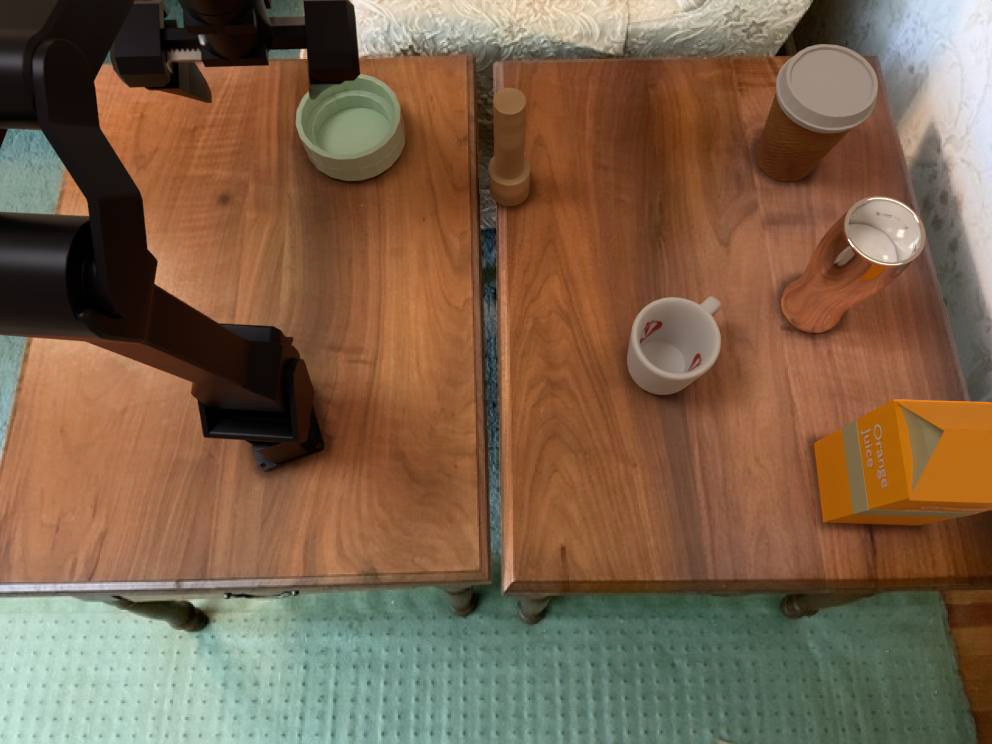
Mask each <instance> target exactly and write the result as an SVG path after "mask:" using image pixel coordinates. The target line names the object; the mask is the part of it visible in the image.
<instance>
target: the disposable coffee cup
mask: <svg viewBox="0 0 992 744" xmlns="http://www.w3.org/2000/svg"><path fill="white" fill-rule="evenodd" d="M878 91H879V80H878V77H877V73H876V71H875V69H874V68H873V67H872V65H871V64H870V63H869V62H868V60H867V59H866V58H864V56H862V55H861V54H859V53H858V52H857V51H855V50H853V49H851V48H848V47H846V46H841V45H838V44H827V43H826V44H825V43H821V44H814V45H811V46H807V47H805V48H803V49H801V50H799V51H798V52H796V54H795V55H793V56H792V57H790V58H788V60H787V61H786V62H784V63H783V64H782V66H781V67H780V69H779V70H778V73H777V76H776V81H775V93H774V96H773V100H772V102H771V106H770V108H769V111H768V115H767V119H766V120H765V124H764V127H763V130H762V133H761V135H760V139H759V141H758V144H757V147H756V150H755V159H756V163H757V165H758V167H759V168H760V170H761V171H762V172H763V173H764V174H765V175H767V176H768V177H770V178H772V179H775V180H776V181H780V182H789V183H790V182H796V181H800V180H802V179H803V178H805V177H807V176H808V175H809V174H810V172H812V171H813V170H814V169H815V167H816V166H818V164H819V163H820V162H821V161H822V160H823V159H824V158H825V157H826V156H827V155H828V154H829V153H831V152H832V150H833V149H834V148H835V147H836V146H837V145H838V143H840V141H841V140H843V138H844V137H845V136H846V135H847V134H848V133H849V132H850V131H851V130H852V129H853V128H854V127H857V126H859V125H860V124H862V123H864V122H865V120H867V119H868V118H869V117H870V115H871V114H872V113H873V111H874V109H875V106H877V105H876V104H877V98H878V97H877V96H878Z"/></svg>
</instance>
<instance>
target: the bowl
mask: <svg viewBox="0 0 992 744" xmlns="http://www.w3.org/2000/svg"><path fill="white" fill-rule="evenodd" d="M295 113H296V114H295V127H296V130H297V133H298V136H299V138H300V141H301V143H302V145H303V148H304V150H305V153H306V155H307V157H308V159H309V161H310V162H311V163H312V164H313V165H314V166H315V168H316V169H317V170H318V171H319V172H321V173H323V174H324V175H326V176H328V177H329V178H332V179H336V180H340V181H345V182H356V181H357V182H359V181H360V182H361V181H365V180H368V179H371V178H374V177H377V176H379V175H380V174H382V173H384V172H385V171H386V170H388V169H390V168H391V167H392V166H393V165H394V163H395V162H396V161H397V160H398V159H399V157H401V154H402V152H403V149H404V147H405V144H406V127H405V123H404V118H403V113H402V109H401V104H400V102H399V99H398V97H397V95H396V92H394V91H393V90H392V88H391V87H390V86H389V85H388V84H387V83H385V82H384V81H382V80H380V79H378V78H377V77H374V76H372V75H369V74H363V73H360V75H359V76H358V77H357V78H356V79H355V80H354V81H344V82H343V83H342V84H340V85H333V86H331V87H329V88H328V89H326V90H324V91H323V92H322V93H321V94H320V95H319V96H318V97H317V98H316V99H315V100H311V99H310V97H309V90H307V92H306V93H305V94H304V95H303V96H302V97H301V100H300V102H299V105H298V106H297V109H296V112H295Z"/></svg>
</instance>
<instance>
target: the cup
mask: <svg viewBox="0 0 992 744" xmlns="http://www.w3.org/2000/svg"><path fill="white" fill-rule="evenodd" d="M721 308H722V301H720V300H719V298H716V297H715V296H713V295H711V296H708V297H707V298H706V299H704V300H703V301H702V302H701V303H698V302H696V301H693V300H691V299H687V298H684V297H677V296H669V297H663V298H659V299H656V300H654V301H652V302H650V303H648V304H646V305H645V307H643V308H642V309H641V310H640V311H639V312H638V314H637V315H636V317H635V318H634V321H633V323H632V326H631V330H630V335H629V336H630V337H629V341H628V342H629V343H628V347H627V353H626V354H627V355H626V365H627V369H628V373H629V375H630V377H631V379H632V380H633V381H634V383H635V384H636V385H637V387H639V388H641V389H642V390H643V391H646V392H648V393H649V394H653V395H657V396H668V395H672V394H675V393H678V392H680V391H682V390H684V389H685V388H687V387H688V386H690V385H691V384H692V383H694V382H695V381H696V380H698V379H699V378H700V377H701V376H703V375H704V374H706V373H707V372H708V371H709V370H711V368H712V367H713V366H714V364H715V363H716V362H717V360H718V357H719V355H720V352H721V348H722V347H721V346H722V336H721V332H720V328H719V326H718V323H717V321H716V319H715V318H714V317H715V316H716V314H718V312H719V311H720V309H721Z"/></svg>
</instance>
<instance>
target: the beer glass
mask: <svg viewBox="0 0 992 744" xmlns="http://www.w3.org/2000/svg"><path fill="white" fill-rule="evenodd" d="M926 235H927V234H926V228H925V226H924V223H923V221H922V219H921V218H920V217H919V215H918V214H917V213H916V212H915V210H913V208H912V207H910V206H909V205H908V204H906V203H904V202H902V201H900V200H898V199H896V198H893V197H889V196H883V195H882V196H881V195H880V196H879V195H875V196H868V197H865V198H861V199H860V200H858V201H856V202H854V204H853V205H852V206H850V208H849V209H848V210H846V212H845V213H844V214H842V215H841V217H839V219H838V220H837V221H835V222H834V223H833V225H832V226H831V227H829V229H828V230H827V231H826V232H825V234H824V235H823V236H822V238H821V239H820V240H819V242H818V243H817V245H816V247H815V249H814V251H813V252H812V254H811V257H810V259H809V261H808V263H807V266H806V268H805V270H804V272H803V274H802V275H801V276H800V277H798V278H797V279H796V280H794V281H792V282H790V283H789V284H788V285H787V286H786V287H785V289H784V290H783V291H782V294H781V299H780V308H781V311H782V313H783V316H784V317H785V319H786V320H787V321H788V322H789V323H790V325H792V326H793V327H794V328H796V329H798V330H800V331H803V332H805V333H810V334H820V333H825V332H827V331H829V330H831V329H833V328H834V327H835V326H836V325H837V324H838V323H839V321H840V320H841V318H842V316H843V314H844V313H845V312H846V311H847V310H848V309H849V308H852V307H854V306H856V305H857V304H860V303H862V302H864V301H866V300H867V299H869V298H872V297H874V296H875V295H876V294H878V293H880V292H881V291H883V290H884V289H885V288H886V287H888V286H889V285H891V283H893V282H894V281H895V280H896V279H897V278H898V277H899V276H900V275H902V274H903V272H904V271H905V270H906V269H907V268H908V267H909V266H910V265H911V264H912V262H913V261H915V259H917V258H918V257H919V256H920V255H921V253H922V251H923V250H924V248H925V245H926V238H927V237H926Z"/></svg>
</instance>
